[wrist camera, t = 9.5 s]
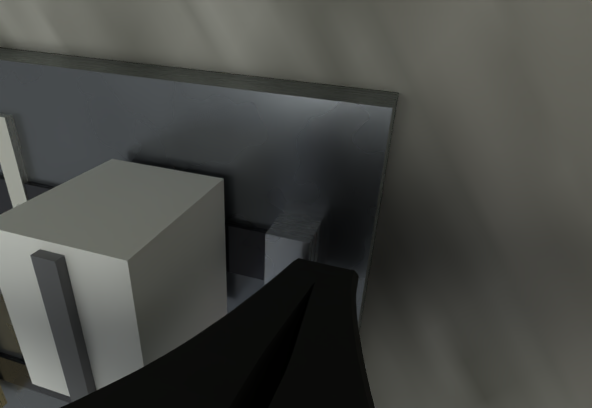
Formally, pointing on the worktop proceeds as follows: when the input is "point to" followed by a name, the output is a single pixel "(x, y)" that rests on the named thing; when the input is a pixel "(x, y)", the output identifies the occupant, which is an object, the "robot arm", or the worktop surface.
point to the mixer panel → (201, 162)
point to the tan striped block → (2, 398)
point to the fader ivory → (112, 272)
